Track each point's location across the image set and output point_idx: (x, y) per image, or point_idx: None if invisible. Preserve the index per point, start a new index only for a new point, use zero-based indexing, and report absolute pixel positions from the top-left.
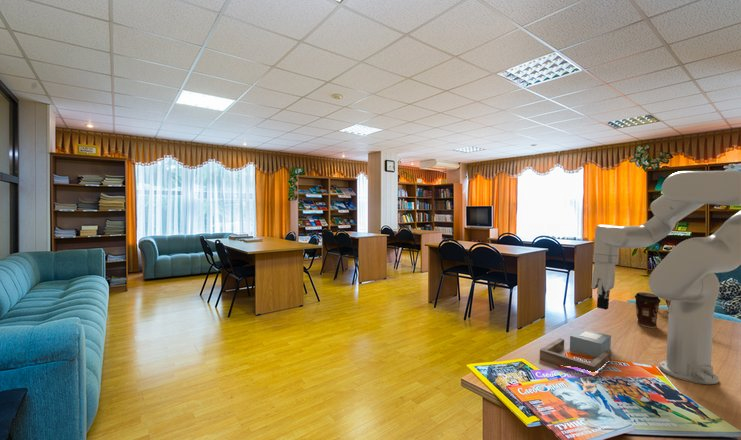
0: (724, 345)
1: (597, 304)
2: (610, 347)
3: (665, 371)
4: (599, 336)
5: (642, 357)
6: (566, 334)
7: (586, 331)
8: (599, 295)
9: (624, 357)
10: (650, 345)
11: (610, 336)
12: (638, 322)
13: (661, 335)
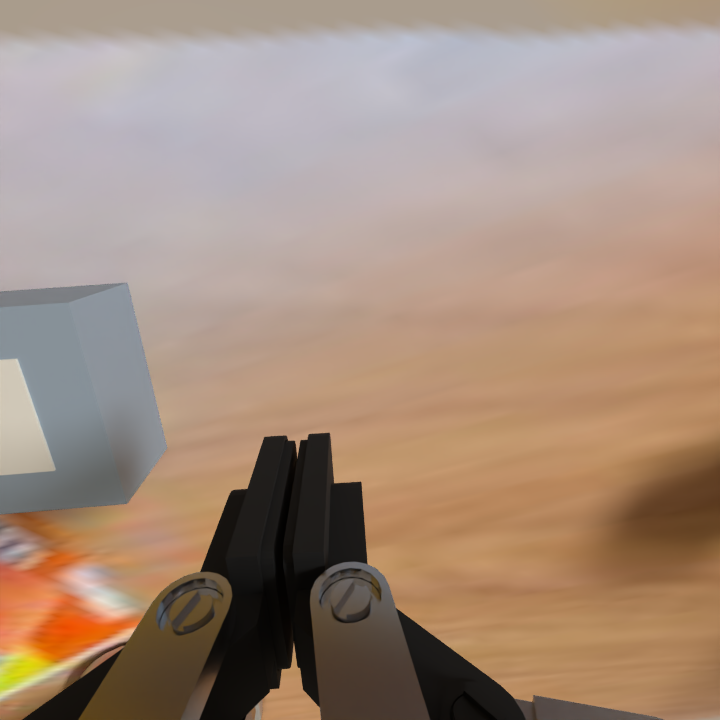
0: (709, 698)
1: (259, 463)
2: (162, 454)
3: (82, 674)
4: (9, 469)
5: None
6: (178, 138)
7: (31, 363)
8: (94, 684)
9: (111, 526)
10: (442, 543)
11: (115, 502)
12: None
13: (688, 529)
